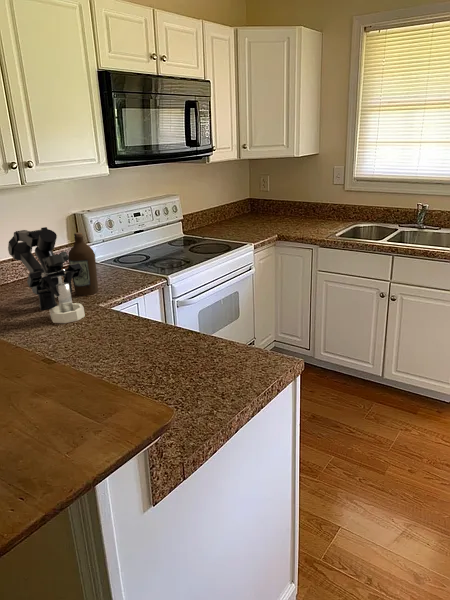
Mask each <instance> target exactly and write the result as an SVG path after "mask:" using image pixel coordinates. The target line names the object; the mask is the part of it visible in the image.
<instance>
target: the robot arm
mask: <svg viewBox="0 0 450 600" xmlns="http://www.w3.org/2000/svg"><path fill="white" fill-rule="evenodd" d="M57 238H58V235H57V233H56V232H55V231H54V230H52V229H48V227H46V226H45V227H40V229H36V230H27V229H22V230H15V231H14V232H13V236H12V237H11V238H10V239H9V241H8V244H7V245H8V247H7V251H8V254H9V256H11V257H12V258H13V259H14V260H16V261H20V262H21V263H22V264H23V265H24V266H25V268H26V269H27V270H28V271H29V274H28V276H27V281H26V283H27V286H28V287H29V288H31V291H32V293H33V294H35V295H37V296H38V300H39V304H38V308H39V309H40V310H41V311H43V310H47V309H48V310H50V309H52V308H54V307H55V306H58V305H59V303H57V301H56V298H55V296H54V294H55V295H56V296H59V293H58V291H57V289H56V285H57V284H59V282H58V277H59V276H61V277H63V283H69V286H70V293H71V294H72V293H73V288H72V286H73V285H72V281H73V278H75V277H79V276H80V273H81V271H82V266H81V264H79V263H75V264H69V265H68V267H67V268H65V269H62V268H64V265H63V264H65V263H66V262H68V261H69V260H68V259H69V258H68V253H67V252H66V251H61V252H60V253H58V254H55V252H54V251H53V250H54V249H55V246H56V243H57V242H56V241H57ZM33 248H35V249H34V253H35V256H34V255H33V253H32V252H33Z"/></svg>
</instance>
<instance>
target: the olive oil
mask: <svg viewBox="0 0 450 600" xmlns="http://www.w3.org/2000/svg"><path fill="white" fill-rule="evenodd" d="M73 235H74V244H73V246H72V247H71V248H70V250H69V251H68V253H67V255H68V258H69V259H68V260H67V261H68V263H69V265H70V264H75V263H79V264H81V266H82V271H81V273H80V276H79V277H75V278H72V283H73V287H74V293H75V295H77V296H89V295H93V294H97V293H98V292H99V284H98V273H97V261H96V255H95V252H94V250H93V248H92V247H90V246H89V245H88V244H87V243H86V242H85V240H84V236H83V232H74V234H73Z"/></svg>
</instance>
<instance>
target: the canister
mask: <svg viewBox="0 0 450 600" xmlns="http://www.w3.org/2000/svg"><path fill="white" fill-rule="evenodd" d="M56 289H57V291H58V293H59V296H58V298H57V299H58V305H59V306H60V312H61V313H65V312H70V311H73V305H72V303H73V301H72V293H70V286H69V283H64V282H62V283H59V284H57V285H56Z"/></svg>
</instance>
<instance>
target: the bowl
mask: <svg viewBox="0 0 450 600" xmlns="http://www.w3.org/2000/svg"><path fill="white" fill-rule="evenodd" d="M72 305H73V311H70V312H65V313H61V312H60V306H59V304H58V306H55V307H54V308H49V314H50V320H51V321H52V323H54V324H67V323H72V322H78V321H79V320H81V319H83V318H84V317H86V315H85V308H84V306H83V304H82V303H79V302H78V303H76V302H75V303H73V302H72Z"/></svg>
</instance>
